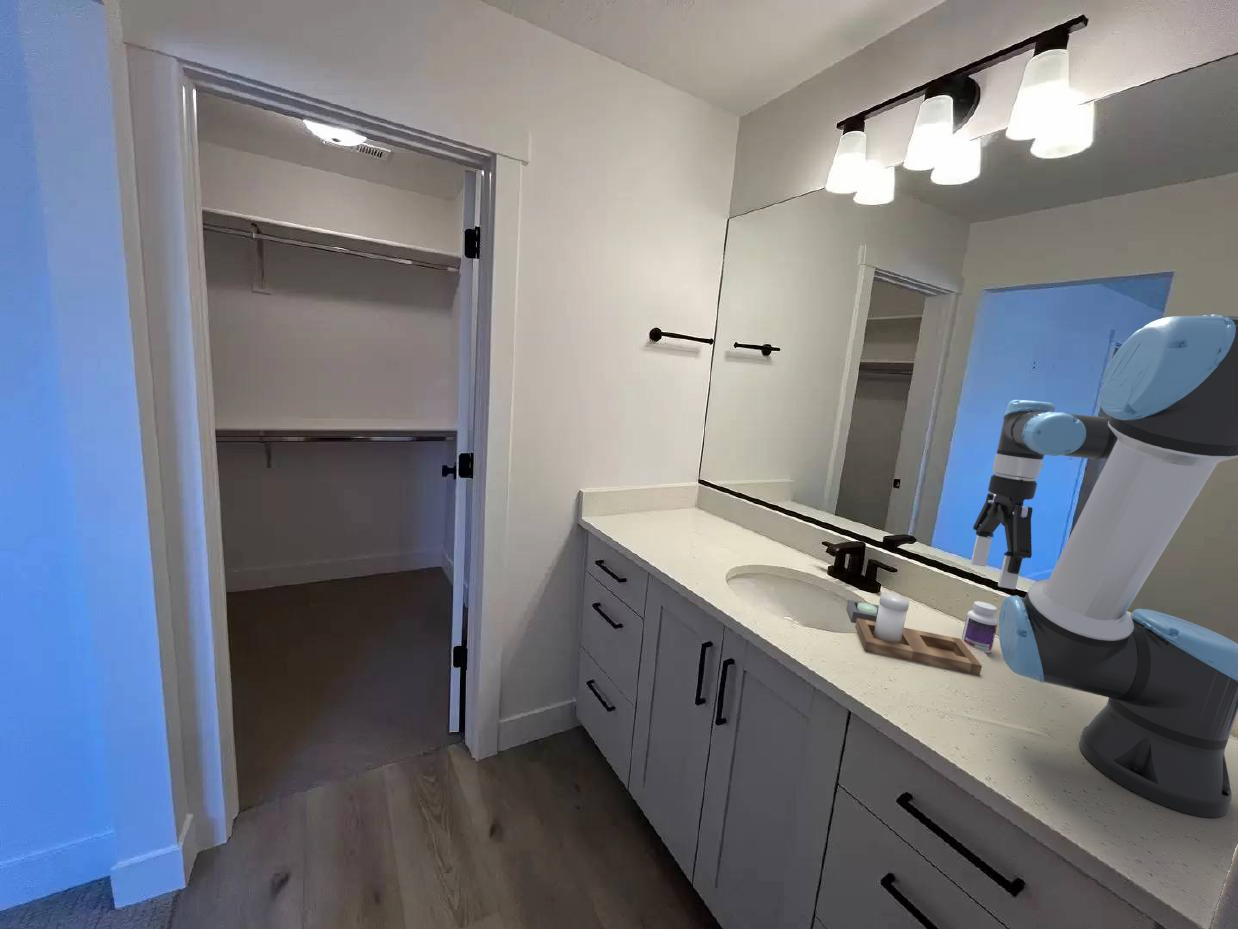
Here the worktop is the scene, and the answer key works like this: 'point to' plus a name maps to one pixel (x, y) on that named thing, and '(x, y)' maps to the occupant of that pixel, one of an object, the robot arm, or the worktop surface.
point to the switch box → (859, 612)
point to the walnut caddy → (921, 648)
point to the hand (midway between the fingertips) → (991, 575)
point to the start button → (867, 608)
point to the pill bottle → (980, 626)
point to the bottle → (891, 617)
